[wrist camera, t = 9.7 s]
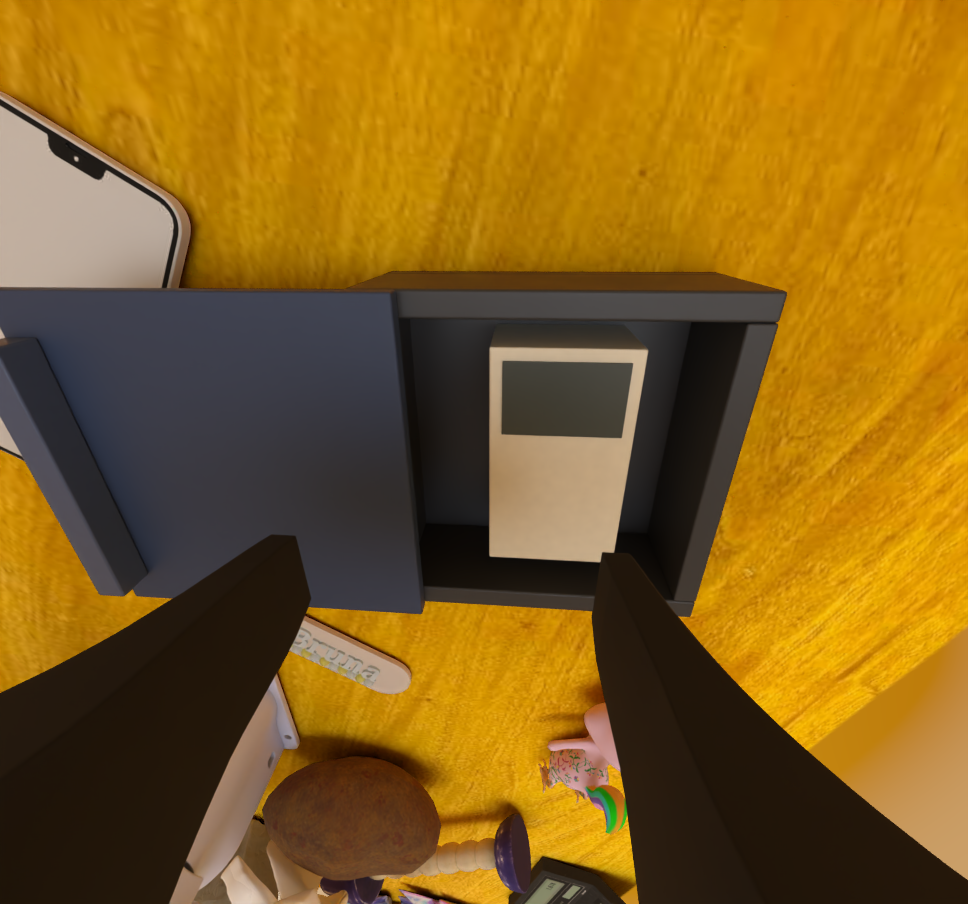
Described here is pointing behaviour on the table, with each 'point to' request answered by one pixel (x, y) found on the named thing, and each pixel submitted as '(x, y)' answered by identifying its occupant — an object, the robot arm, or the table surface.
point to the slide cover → (218, 433)
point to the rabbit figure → (589, 767)
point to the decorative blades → (409, 899)
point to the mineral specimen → (256, 859)
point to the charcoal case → (657, 438)
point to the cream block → (560, 437)
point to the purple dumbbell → (458, 863)
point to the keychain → (350, 658)
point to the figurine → (292, 883)
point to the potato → (353, 819)
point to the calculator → (564, 886)
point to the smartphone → (79, 216)
